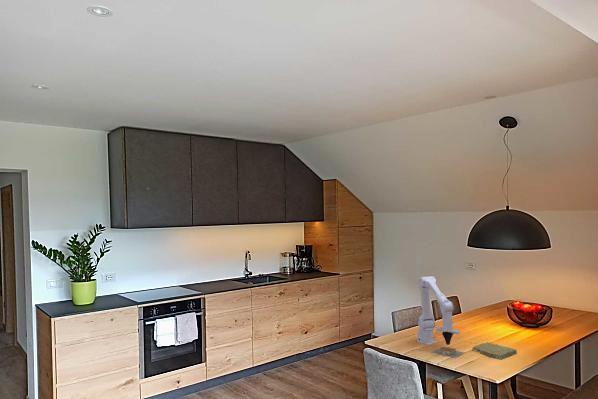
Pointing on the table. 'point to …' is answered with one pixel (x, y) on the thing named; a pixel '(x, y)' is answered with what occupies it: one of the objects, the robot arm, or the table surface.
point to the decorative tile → (494, 350)
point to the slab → (447, 350)
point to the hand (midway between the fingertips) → (448, 344)
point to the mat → (448, 355)
